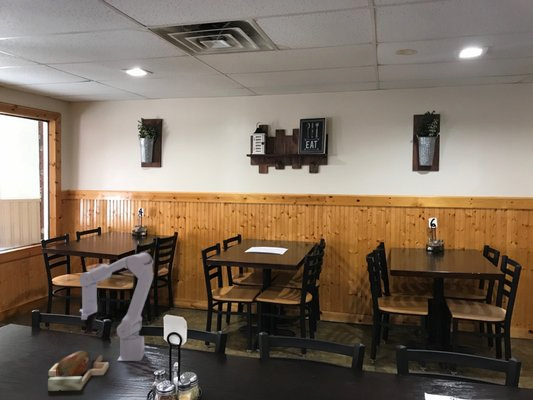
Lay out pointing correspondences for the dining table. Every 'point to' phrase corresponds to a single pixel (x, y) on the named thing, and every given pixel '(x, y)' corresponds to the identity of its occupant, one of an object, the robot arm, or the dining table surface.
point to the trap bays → (99, 370)
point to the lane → (70, 380)
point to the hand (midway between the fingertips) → (89, 331)
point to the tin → (73, 364)
